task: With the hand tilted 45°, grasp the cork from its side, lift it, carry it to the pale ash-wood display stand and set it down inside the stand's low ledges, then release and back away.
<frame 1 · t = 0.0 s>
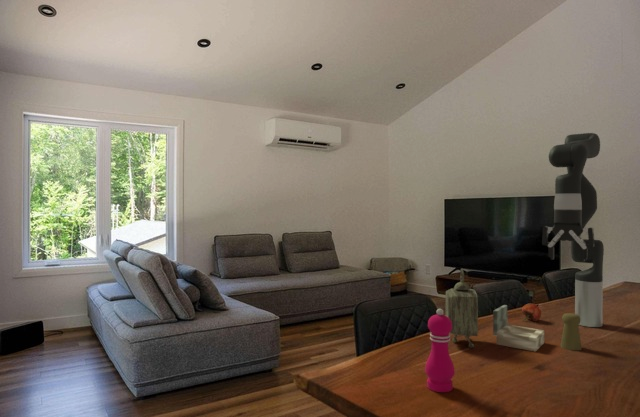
hand: (567, 260, 140), 29 cm above the table, tool pointing down, fingers open, 8 cm apart
display stand: (520, 343, 151), on the table
cork: (571, 348, 147), on the table
tabletop clock: (460, 343, 151), on the table
pepper mill: (439, 388, 114), on the table
pomegranate: (531, 321, 181), on the table
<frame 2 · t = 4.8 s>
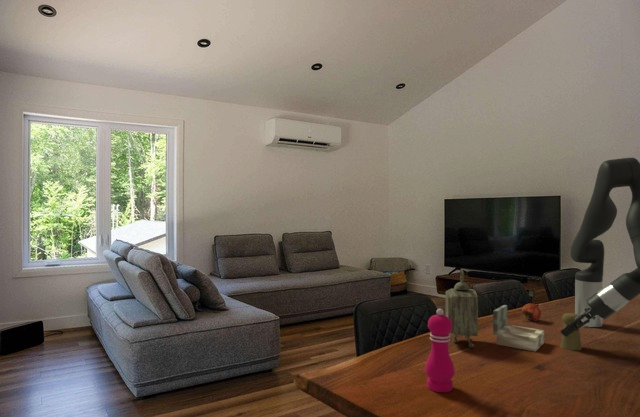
hand: (564, 332, 148), 5 cm above the table, tool tilted 45°, fingers closed on cork, 4 cm apart
cork: (571, 348, 147), on the table, touching gripper
everything else where it was.
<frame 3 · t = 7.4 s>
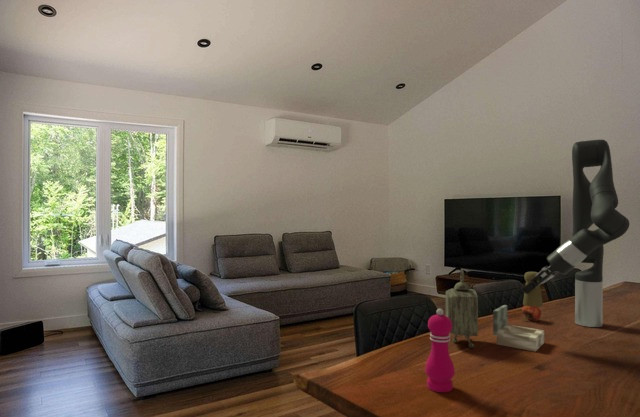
hand: (526, 290, 150), 18 cm above the table, tool tilted 45°, fingers closed on cork, 4 cm apart
cork: (532, 305, 149), point 13 cm above the table, touching gripper
everything else where it was.
when the fingers open (9 cm above the table, at t = 9.8 s): cork drops 1 cm, resting on display stand.
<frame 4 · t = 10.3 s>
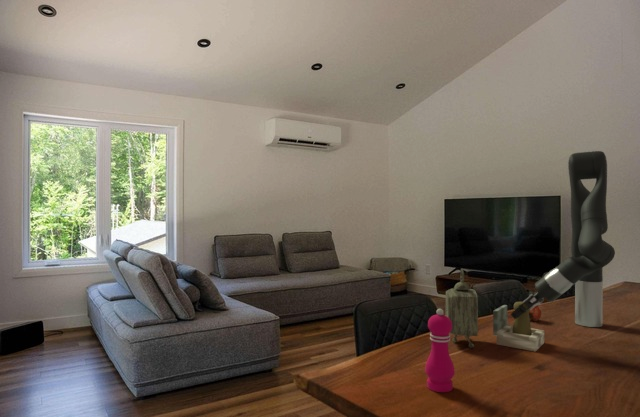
hand: (516, 314, 151), 10 cm above the table, tool tilted 45°, fingers open, 8 cm apart
cork: (521, 335, 150), point 3 cm above the table, touching display stand
everything else where it was.
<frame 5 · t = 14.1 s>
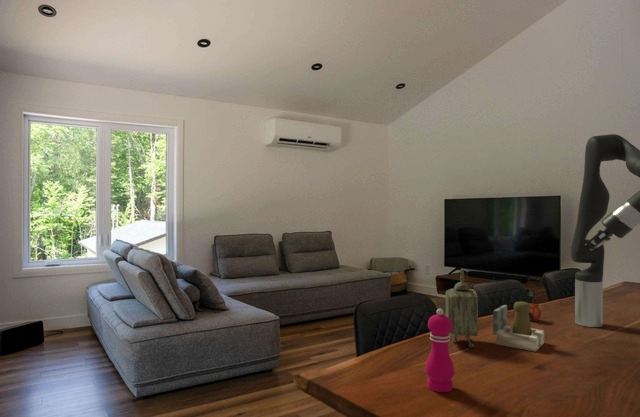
hand: (580, 254, 144), 31 cm above the table, tool tilted 45°, fingers open, 8 cm apart
nothing on the table moved.
at the end: cork inside the target area on the display stand (0.4 cm from its centre), point 2.8 cm above the display stand's base; cork tilted 0°; the gripper is holding nothing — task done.
